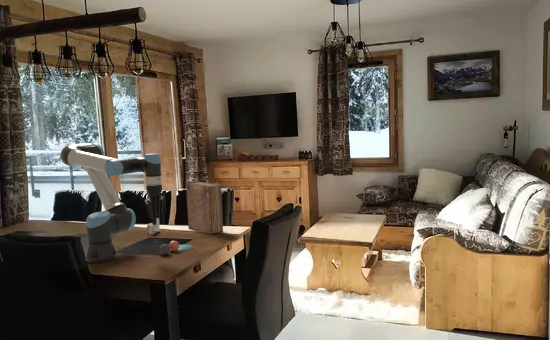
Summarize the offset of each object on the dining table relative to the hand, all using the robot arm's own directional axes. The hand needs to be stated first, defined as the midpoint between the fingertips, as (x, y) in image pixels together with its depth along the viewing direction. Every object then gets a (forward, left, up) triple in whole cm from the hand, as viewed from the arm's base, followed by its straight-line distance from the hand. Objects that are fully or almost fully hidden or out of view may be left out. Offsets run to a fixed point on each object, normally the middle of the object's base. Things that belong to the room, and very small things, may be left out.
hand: (156, 230), depth 227 cm
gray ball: (+5, +2, -11) cm, 12 cm away
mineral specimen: (+24, +51, -14) cm, 58 cm away
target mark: (+17, +6, -14) cm, 23 cm away
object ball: (+12, +4, -11) cm, 17 cm away
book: (+49, +30, -14) cm, 59 cm away
